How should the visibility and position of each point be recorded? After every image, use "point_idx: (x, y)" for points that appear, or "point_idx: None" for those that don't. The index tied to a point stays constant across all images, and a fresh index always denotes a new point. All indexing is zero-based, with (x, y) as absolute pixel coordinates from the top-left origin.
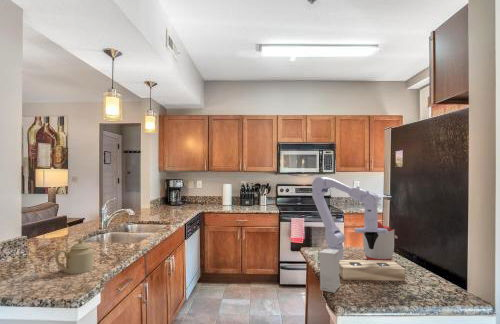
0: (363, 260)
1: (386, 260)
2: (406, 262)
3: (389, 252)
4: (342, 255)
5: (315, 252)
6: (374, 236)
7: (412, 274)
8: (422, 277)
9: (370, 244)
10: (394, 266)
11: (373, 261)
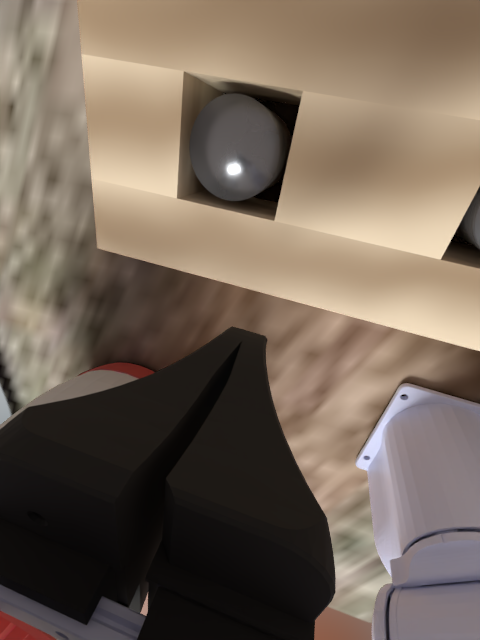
0: (343, 308)
1: (114, 366)
2: (27, 346)
3: (64, 388)
4: (422, 461)
5: (388, 582)
6: (125, 440)
7: (48, 150)
8: (4, 72)
9: (258, 367)
10: (149, 46)
11: (268, 260)
